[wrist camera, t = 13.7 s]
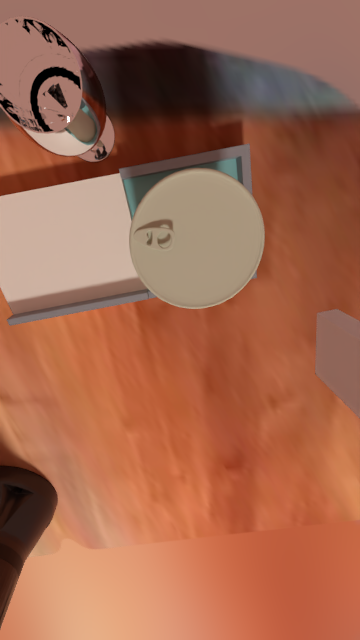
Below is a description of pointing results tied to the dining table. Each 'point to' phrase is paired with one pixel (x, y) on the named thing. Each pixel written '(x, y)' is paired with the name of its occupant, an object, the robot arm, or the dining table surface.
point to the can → (196, 238)
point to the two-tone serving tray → (86, 237)
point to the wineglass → (52, 91)
